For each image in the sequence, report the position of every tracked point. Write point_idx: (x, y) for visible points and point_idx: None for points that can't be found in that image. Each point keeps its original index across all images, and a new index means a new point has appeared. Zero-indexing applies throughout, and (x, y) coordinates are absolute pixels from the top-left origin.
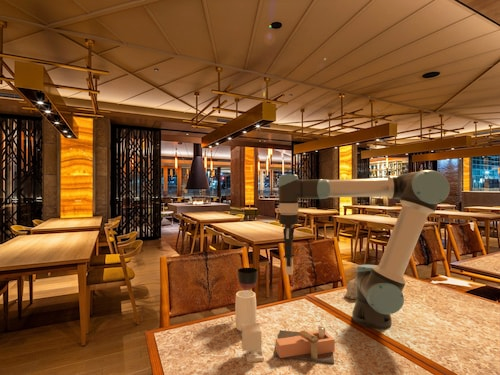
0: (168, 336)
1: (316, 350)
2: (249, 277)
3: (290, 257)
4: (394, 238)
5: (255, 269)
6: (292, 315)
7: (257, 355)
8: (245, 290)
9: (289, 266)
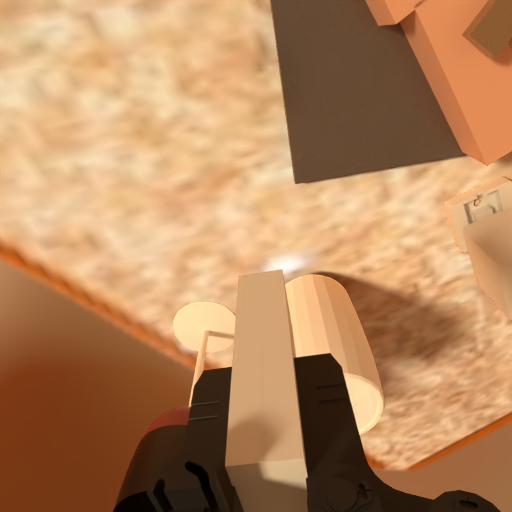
0: (409, 443)
1: None
2: None
3: (472, 505)
4: None
5: (117, 500)
6: (107, 171)
7: (475, 207)
8: None
9: (333, 364)
